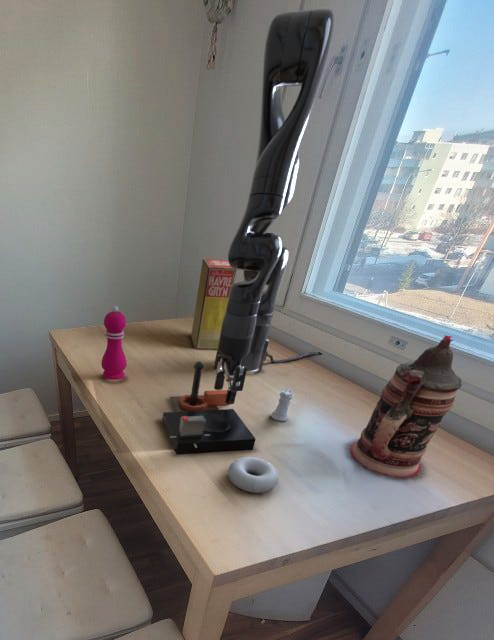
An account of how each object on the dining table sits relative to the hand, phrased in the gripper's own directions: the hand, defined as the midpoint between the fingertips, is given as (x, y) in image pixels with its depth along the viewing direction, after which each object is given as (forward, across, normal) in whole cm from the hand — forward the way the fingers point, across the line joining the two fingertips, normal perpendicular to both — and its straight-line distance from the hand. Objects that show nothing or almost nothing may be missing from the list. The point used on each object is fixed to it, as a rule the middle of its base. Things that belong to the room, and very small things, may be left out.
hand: (223, 396), depth 108 cm
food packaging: (+3, +47, -11) cm, 49 cm away
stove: (+3, -15, +9) cm, 18 cm away
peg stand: (+3, 0, +8) cm, 9 cm away
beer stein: (+3, -28, -27) cm, 39 cm away
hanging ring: (+2, 0, +5) cm, 5 cm away
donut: (+4, -32, +5) cm, 32 cm away
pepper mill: (+3, +20, +26) cm, 33 cm away
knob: (0, -18, +14) cm, 23 cm away
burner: (0, -13, +8) cm, 15 cm away
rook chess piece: (+3, -9, -12) cm, 15 cm away
